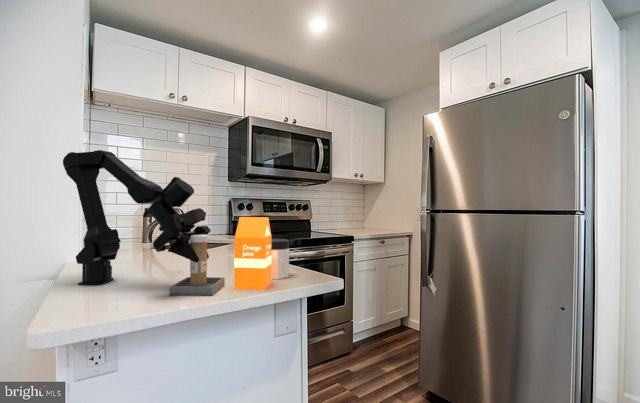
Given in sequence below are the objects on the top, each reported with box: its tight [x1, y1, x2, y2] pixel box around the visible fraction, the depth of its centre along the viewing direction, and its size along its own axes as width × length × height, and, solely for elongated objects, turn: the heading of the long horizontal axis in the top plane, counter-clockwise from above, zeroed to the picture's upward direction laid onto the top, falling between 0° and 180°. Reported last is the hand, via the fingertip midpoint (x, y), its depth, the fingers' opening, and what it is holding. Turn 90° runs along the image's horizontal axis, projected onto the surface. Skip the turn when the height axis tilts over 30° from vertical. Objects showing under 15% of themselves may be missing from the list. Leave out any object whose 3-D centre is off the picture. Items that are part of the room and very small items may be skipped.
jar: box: [271, 238, 290, 280], centre depth 105 cm, size 9×8×12 cm
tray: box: [169, 276, 226, 297], centre depth 88 cm, size 11×11×2 cm
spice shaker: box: [189, 234, 209, 285], centre depth 88 cm, size 5×5×14 cm
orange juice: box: [233, 216, 272, 291], centre depth 93 cm, size 8×9×20 cm
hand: (203, 259), depth 88 cm, fingers closed on spice shaker, 4 cm apart
